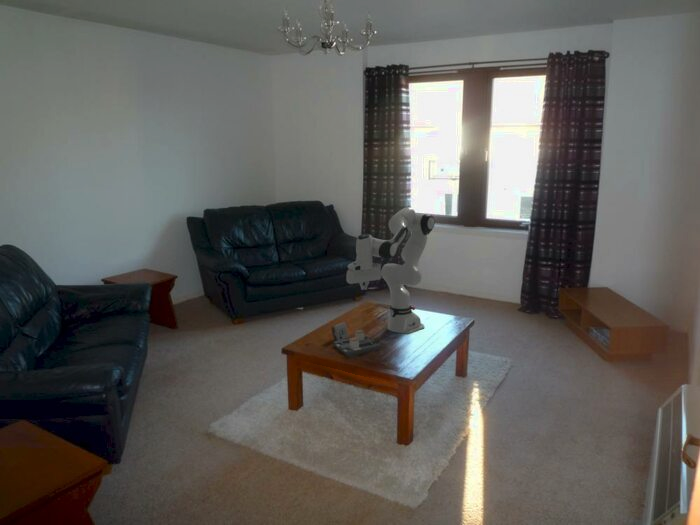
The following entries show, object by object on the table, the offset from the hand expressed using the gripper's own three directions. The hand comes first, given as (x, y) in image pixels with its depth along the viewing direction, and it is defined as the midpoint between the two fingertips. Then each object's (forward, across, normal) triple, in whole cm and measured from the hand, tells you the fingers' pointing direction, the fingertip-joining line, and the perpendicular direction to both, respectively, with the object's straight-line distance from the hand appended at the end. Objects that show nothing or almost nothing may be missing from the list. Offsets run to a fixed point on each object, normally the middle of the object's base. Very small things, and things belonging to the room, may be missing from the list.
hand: (363, 289), depth 279 cm
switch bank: (+31, +7, +4) cm, 32 cm away
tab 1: (+29, +11, +8) cm, 32 cm away
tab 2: (+29, +3, 0) cm, 29 cm away
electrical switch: (+31, +9, -11) cm, 34 cm away
